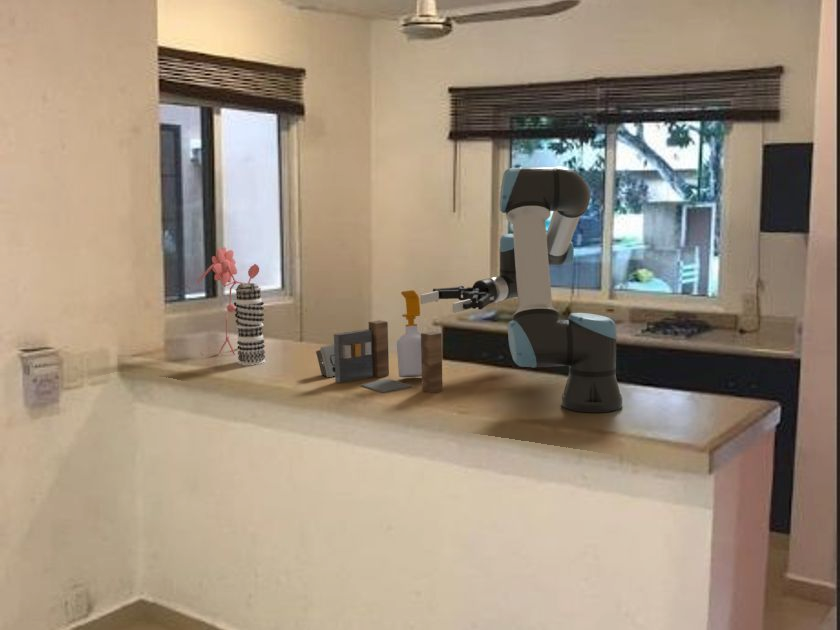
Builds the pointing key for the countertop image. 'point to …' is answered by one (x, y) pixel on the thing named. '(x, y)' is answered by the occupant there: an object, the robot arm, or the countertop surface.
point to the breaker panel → (353, 355)
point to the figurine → (227, 277)
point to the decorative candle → (249, 324)
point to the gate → (429, 355)
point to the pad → (386, 385)
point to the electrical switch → (326, 360)
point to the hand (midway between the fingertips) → (436, 303)
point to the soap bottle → (410, 339)
